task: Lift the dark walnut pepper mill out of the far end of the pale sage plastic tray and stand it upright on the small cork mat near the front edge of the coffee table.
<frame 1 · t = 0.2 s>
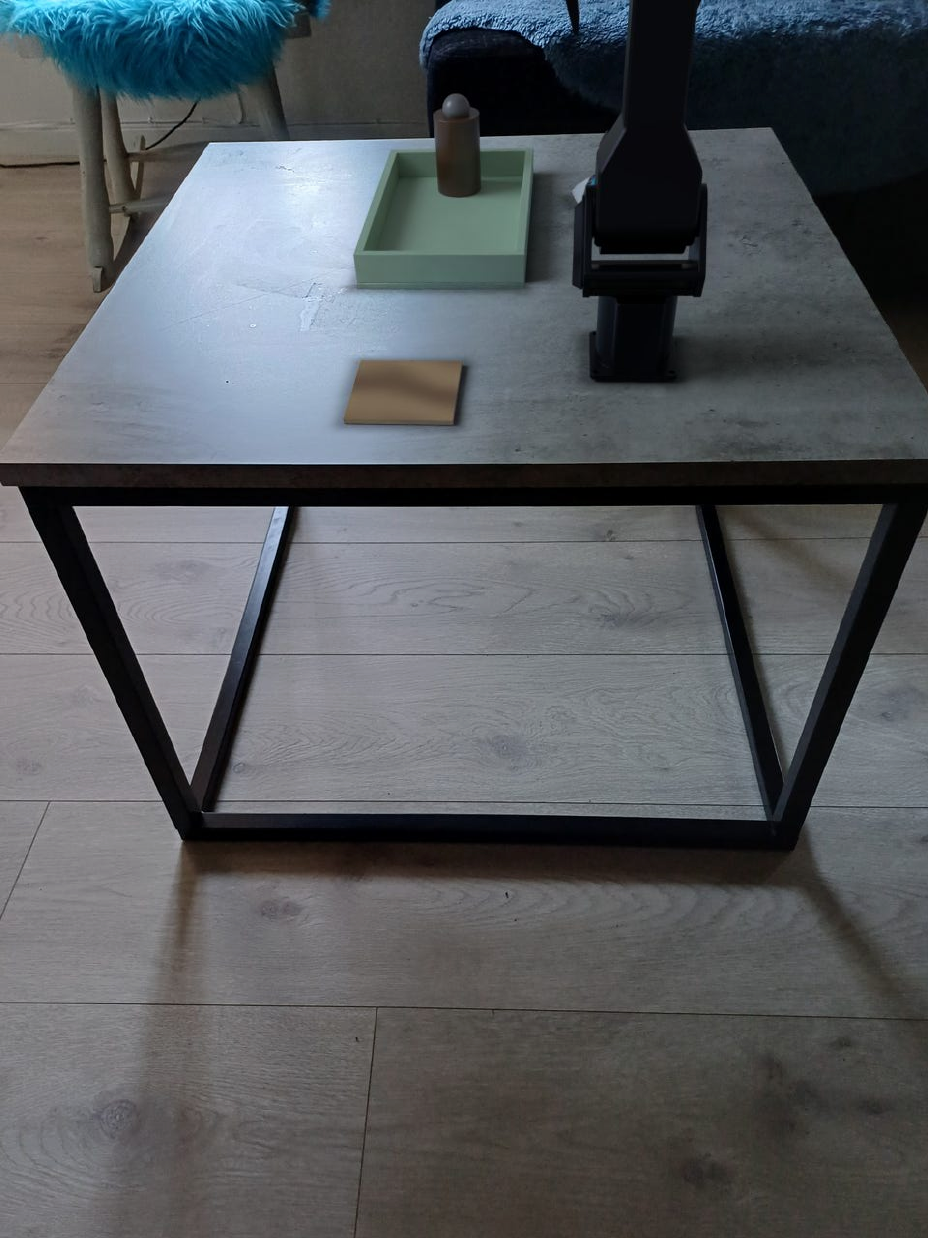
hand: (629, 33, 81), 15 cm above the table, tool pointing down, fingers open, 9 cm apart
pepper mill: (459, 188, 94), point 1 cm above the table, touching tray
decorative butterfly: (621, 221, 89), on the table
cork mat: (405, 393, 70), on the table
tray: (452, 229, 89), on the table
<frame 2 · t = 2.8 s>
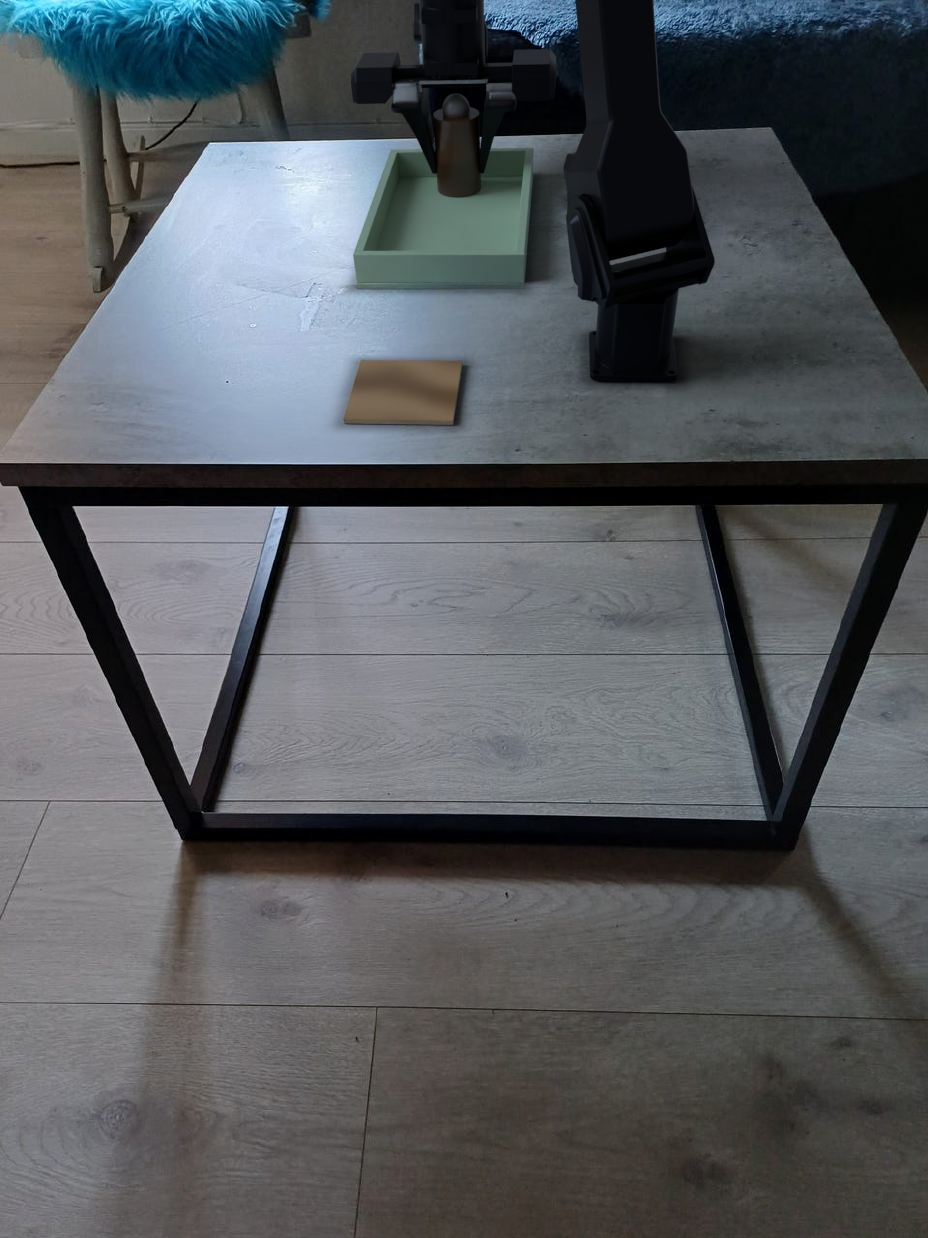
hand: (458, 171, 93), 2 cm above the table, tool pointing down, fingers closed on pepper mill, 4 cm apart
pepper mill: (459, 188, 94), point 1 cm above the table, touching gripper, tray
everything else where it was.
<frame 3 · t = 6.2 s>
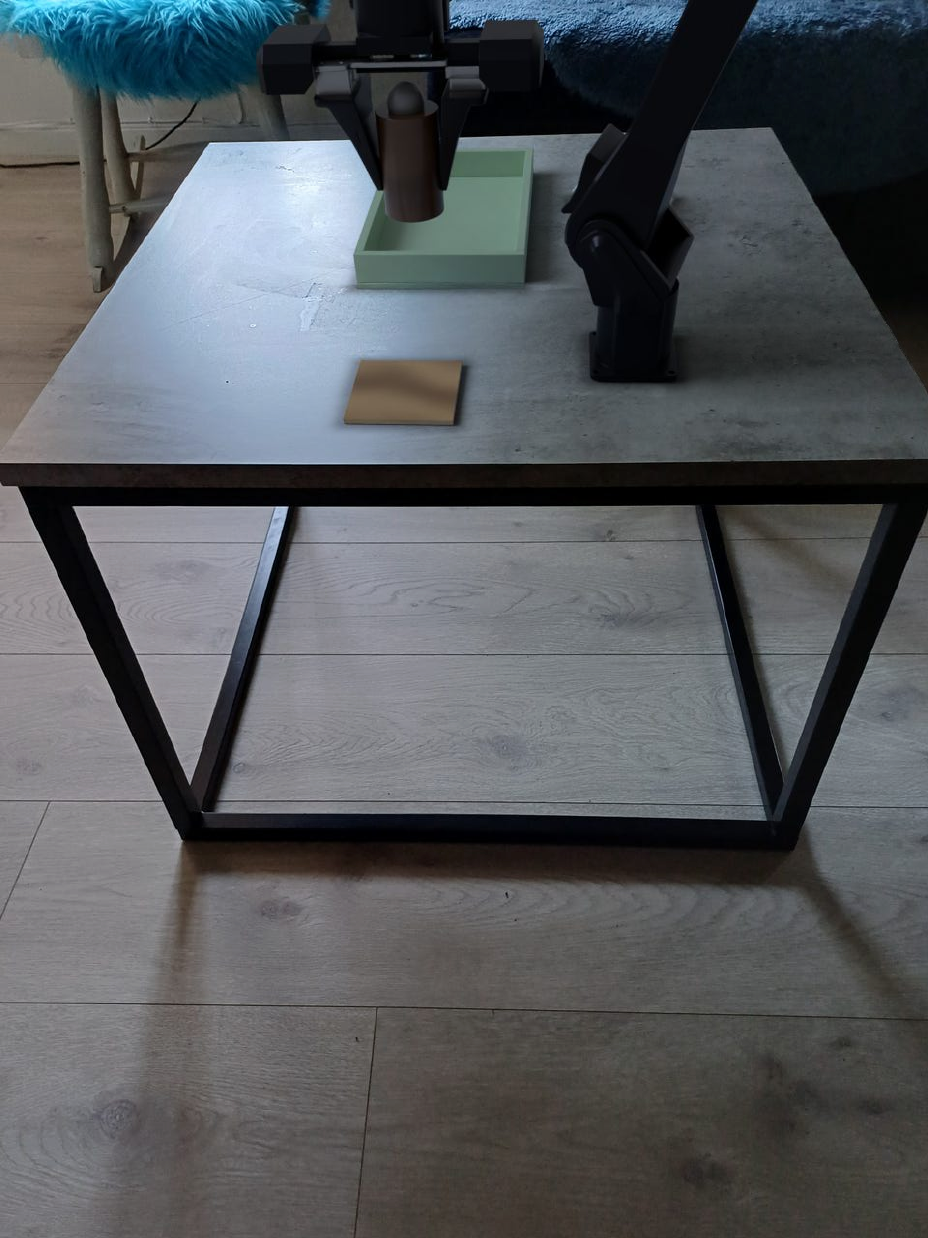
hand: (413, 188, 69), 11 cm above the table, tool pointing down, fingers closed on pepper mill, 4 cm apart
pepper mill: (414, 210, 70), point 10 cm above the table, touching gripper
everything else where it was.
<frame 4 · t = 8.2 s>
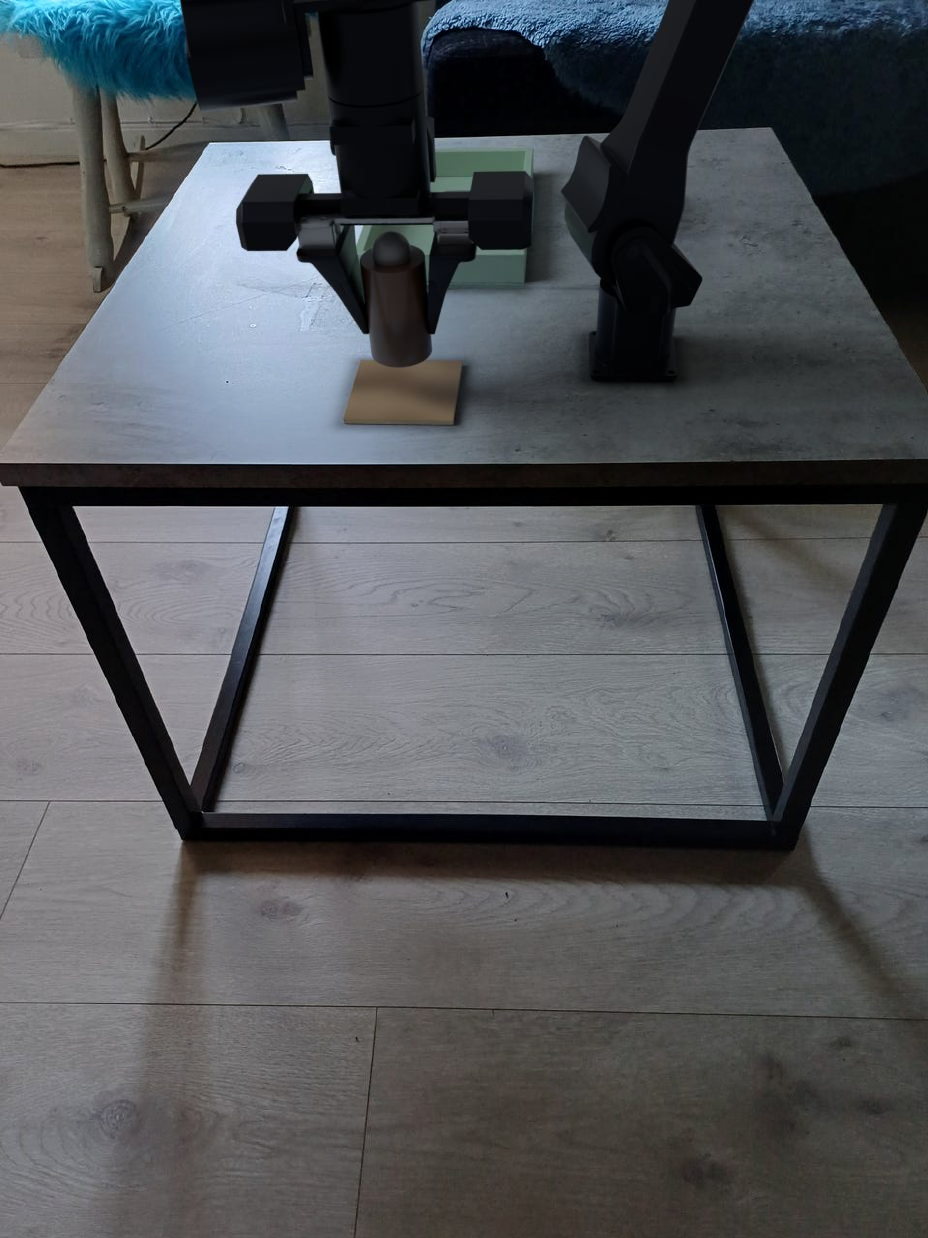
hand: (400, 331, 66), 5 cm above the table, tool pointing down, fingers closed on pepper mill, 4 cm apart
pepper mill: (401, 351, 68), point 3 cm above the table, touching gripper
everything else where it was.
when the fingers open (2 cm above the table, at t = 9.5 s): pepper mill stays where it is, resting on cork mat.
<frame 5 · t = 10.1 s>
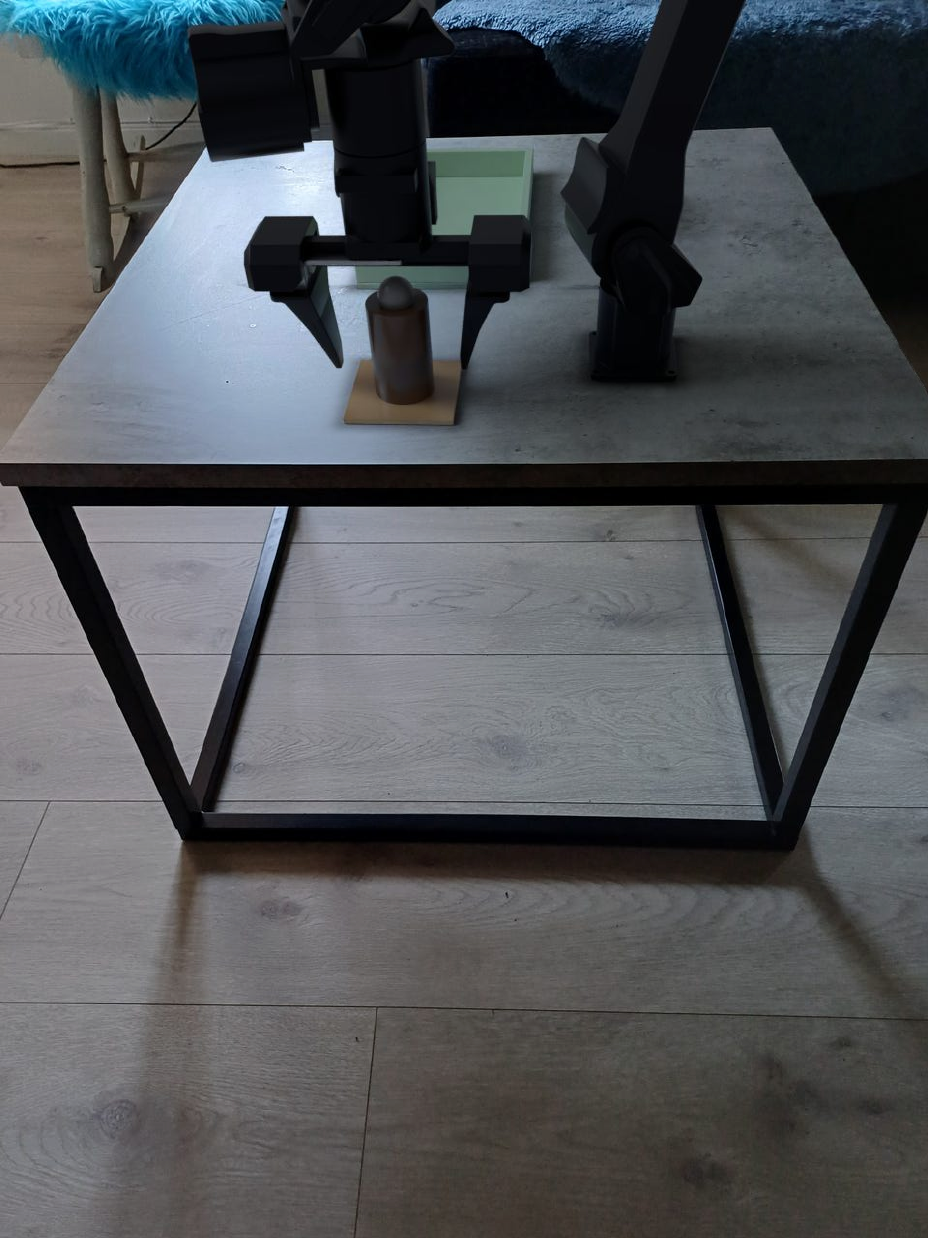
hand: (402, 365, 68), 2 cm above the table, tool pointing down, fingers open, 9 cm apart
pepper mill: (405, 388, 70), resting on cork mat
everything else where it was.
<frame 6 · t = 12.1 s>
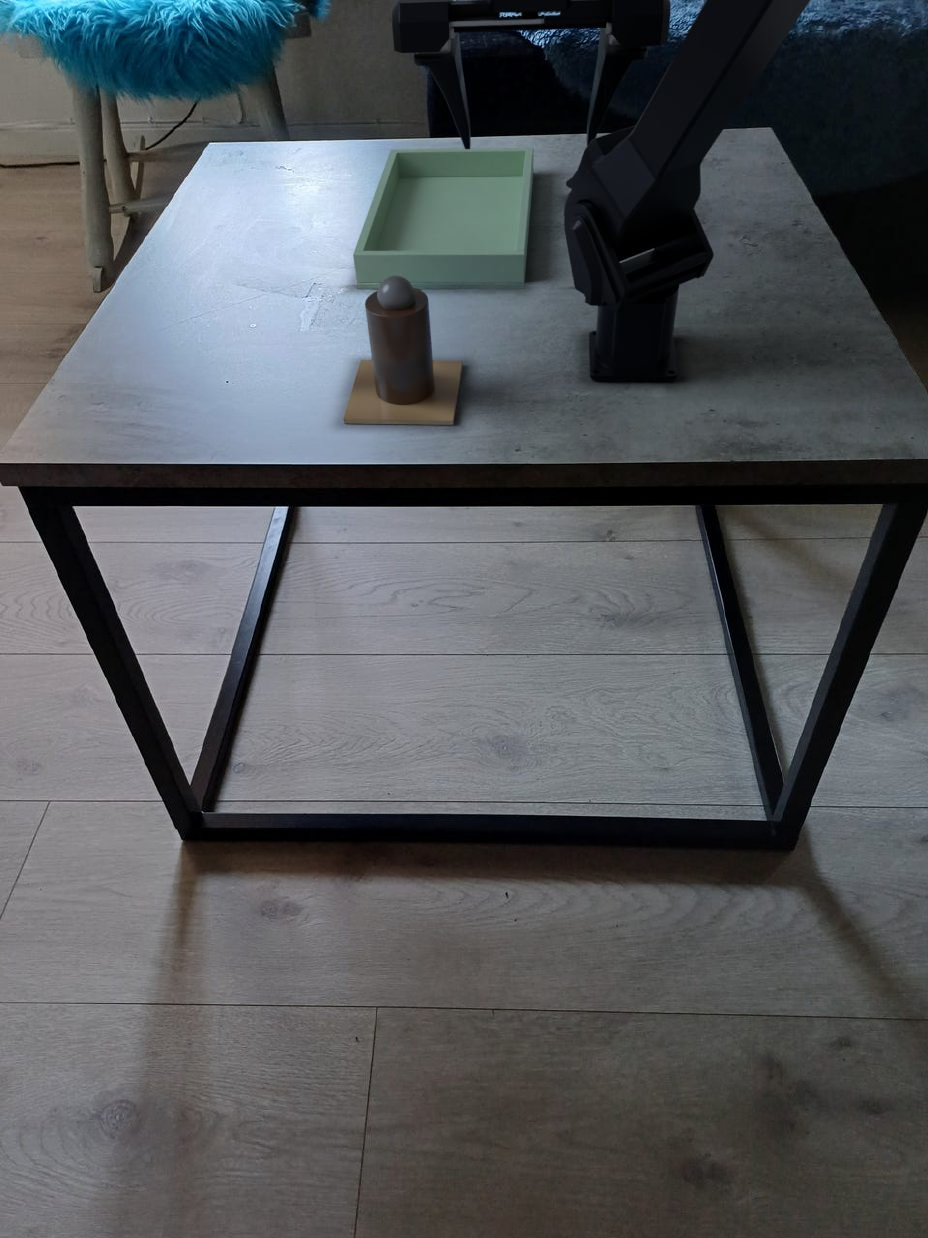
hand: (528, 145, 71), 12 cm above the table, tool pointing down, fingers open, 9 cm apart
nothing on the table moved.
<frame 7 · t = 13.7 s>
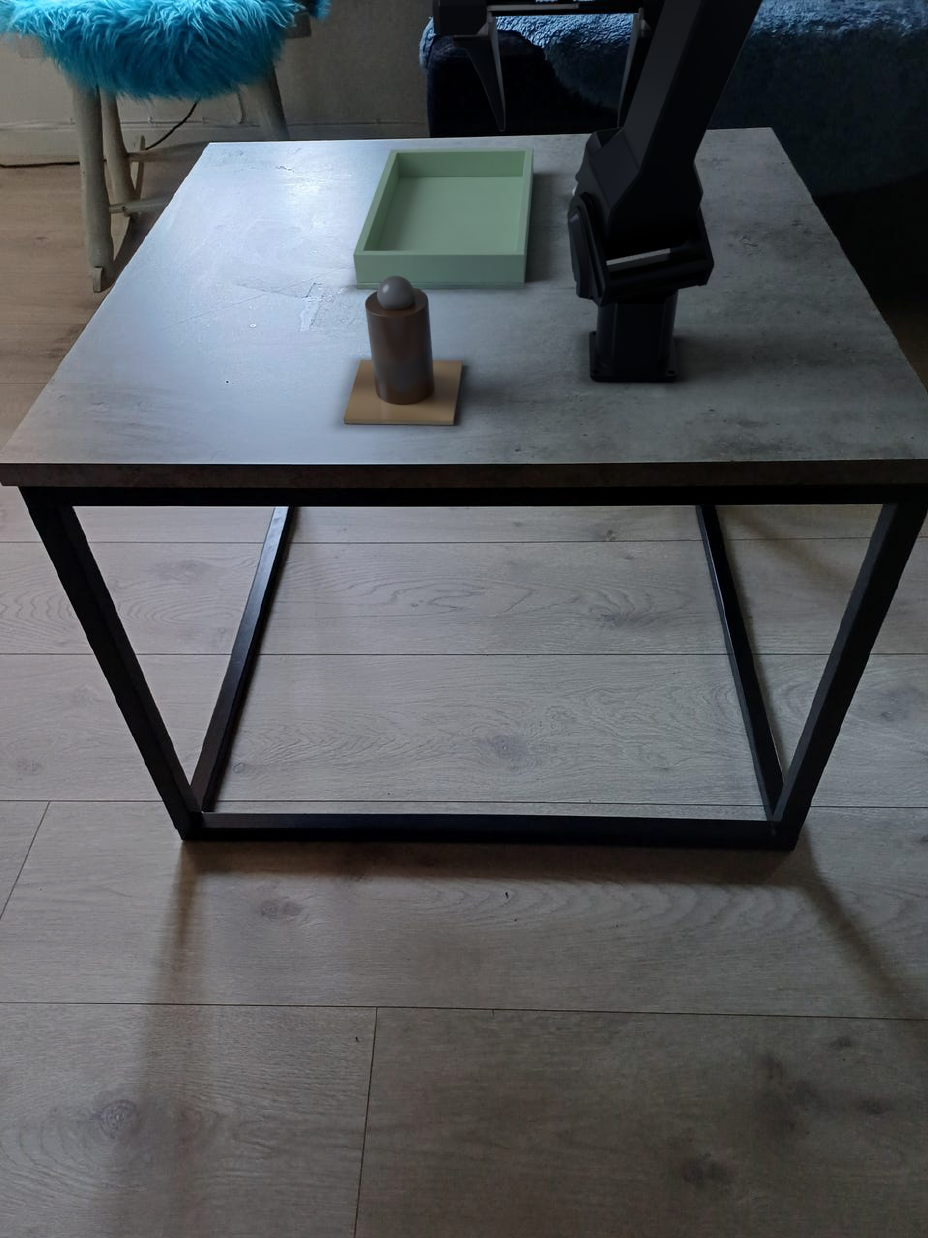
hand: (560, 128, 73), 12 cm above the table, tool pointing down, fingers open, 9 cm apart
nothing on the table moved.
at the end: pepper mill 0.0 cm off-centre on the cork mat, point 0.4 cm above the cork mat's base; pepper mill tilted 0° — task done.
